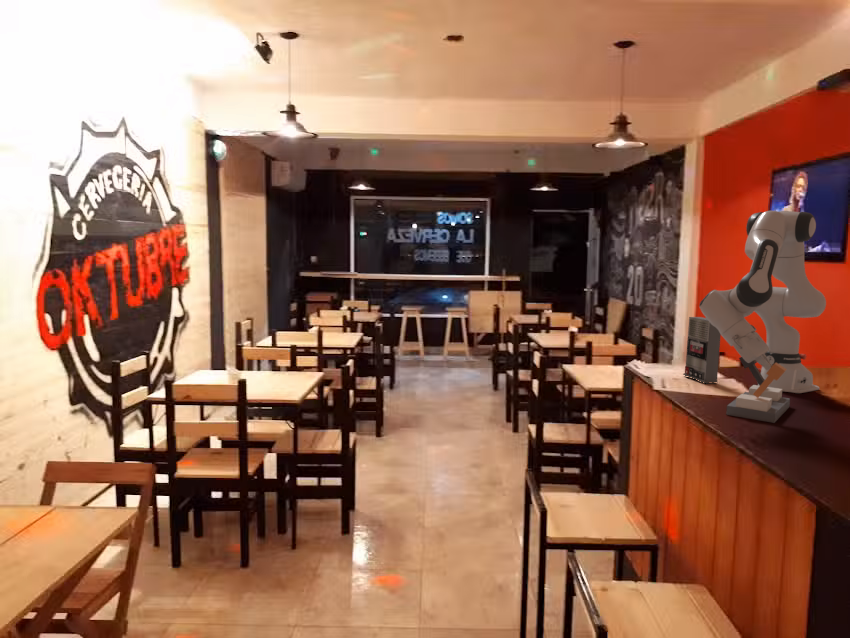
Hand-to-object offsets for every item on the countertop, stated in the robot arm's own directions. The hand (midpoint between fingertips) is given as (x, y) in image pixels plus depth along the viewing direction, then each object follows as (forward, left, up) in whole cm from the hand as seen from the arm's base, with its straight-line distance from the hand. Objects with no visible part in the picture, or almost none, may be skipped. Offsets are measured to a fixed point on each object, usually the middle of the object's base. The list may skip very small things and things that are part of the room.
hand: (769, 368), depth 203 cm
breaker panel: (-6, -8, -16) cm, 19 cm away
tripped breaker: (+2, -3, -10) cm, 11 cm away
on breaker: (-13, -13, -9) cm, 21 cm away
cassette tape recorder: (-23, -52, -16) cm, 59 cm away
